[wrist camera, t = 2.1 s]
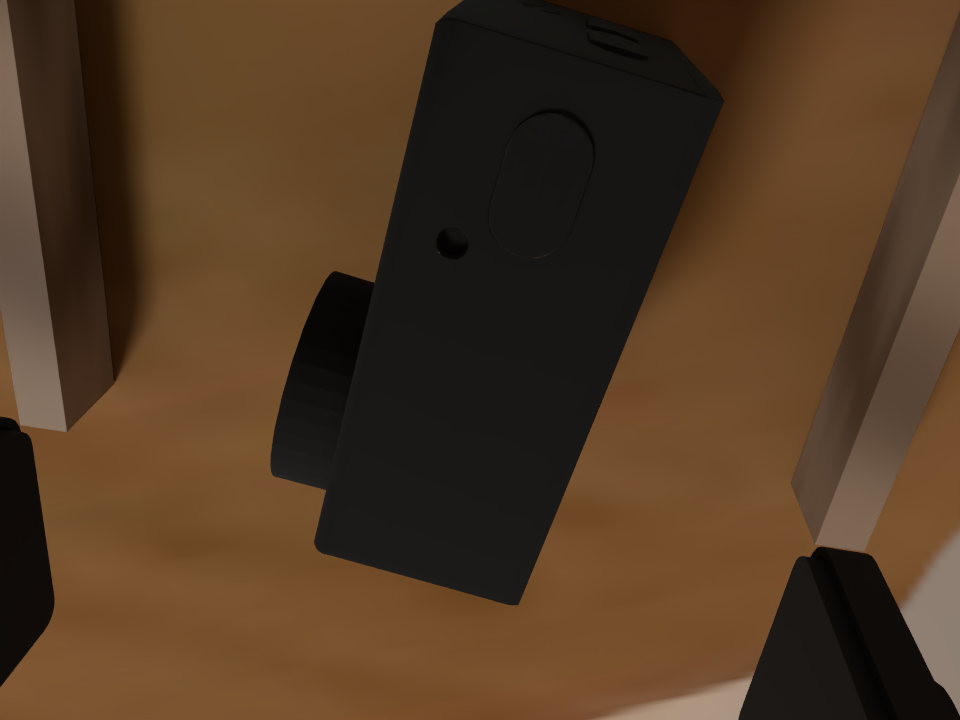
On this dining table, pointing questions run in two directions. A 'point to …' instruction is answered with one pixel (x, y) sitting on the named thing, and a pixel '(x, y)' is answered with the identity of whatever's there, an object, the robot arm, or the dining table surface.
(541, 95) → the digital camera
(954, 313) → the twin metal rails
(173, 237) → the dining table surface
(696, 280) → the dining table surface
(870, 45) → the dining table surface
